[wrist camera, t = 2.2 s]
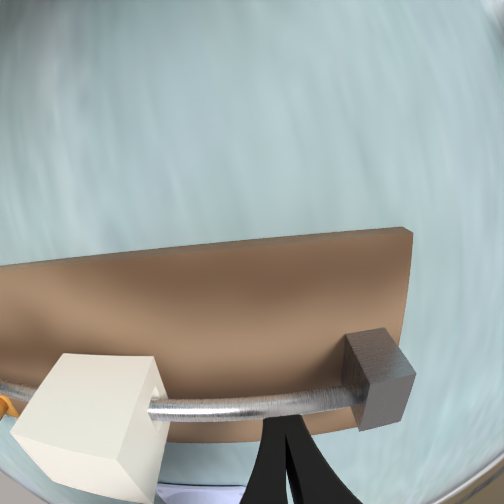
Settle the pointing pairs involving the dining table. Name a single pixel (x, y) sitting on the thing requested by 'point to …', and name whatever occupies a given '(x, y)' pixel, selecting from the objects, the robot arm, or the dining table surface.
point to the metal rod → (306, 402)
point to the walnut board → (211, 317)
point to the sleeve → (97, 425)
